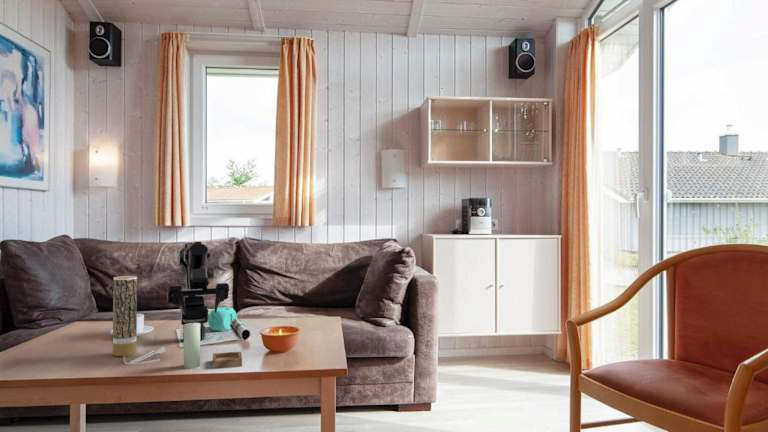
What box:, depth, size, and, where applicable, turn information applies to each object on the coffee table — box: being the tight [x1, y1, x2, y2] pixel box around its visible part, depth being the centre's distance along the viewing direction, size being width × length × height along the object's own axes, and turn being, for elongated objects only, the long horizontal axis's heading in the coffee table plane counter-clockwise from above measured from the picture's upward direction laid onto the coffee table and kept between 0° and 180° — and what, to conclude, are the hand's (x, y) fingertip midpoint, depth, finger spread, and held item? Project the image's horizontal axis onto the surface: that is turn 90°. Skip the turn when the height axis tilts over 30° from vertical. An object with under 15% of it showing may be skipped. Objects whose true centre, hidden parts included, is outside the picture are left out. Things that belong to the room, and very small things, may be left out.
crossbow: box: [122, 346, 166, 366], centre depth 157 cm, size 16×13×2 cm
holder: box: [211, 351, 243, 369], centre depth 152 cm, size 8×8×2 cm
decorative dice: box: [207, 306, 238, 332], centre depth 198 cm, size 8×8×8 cm
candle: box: [183, 322, 201, 369], centre depth 149 cm, size 5×5×13 cm
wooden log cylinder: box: [112, 275, 138, 357], centre depth 161 cm, size 7×7×25 cm
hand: (200, 312), depth 157 cm, fingers open, 9 cm apart
